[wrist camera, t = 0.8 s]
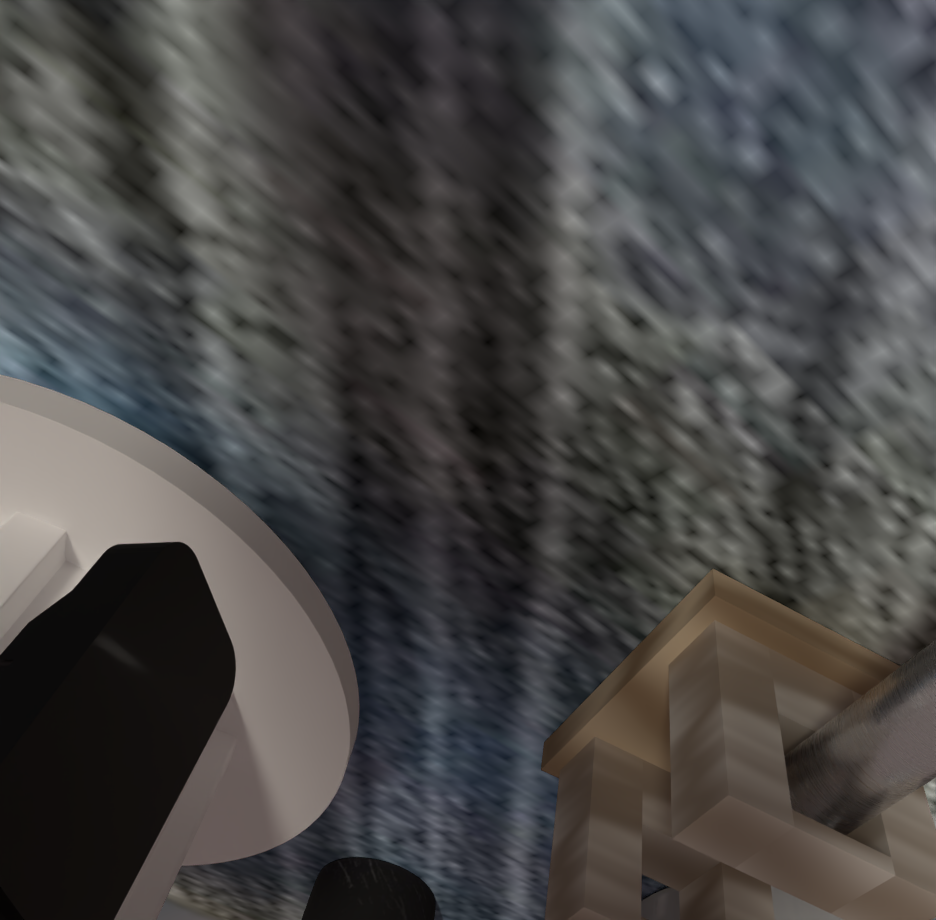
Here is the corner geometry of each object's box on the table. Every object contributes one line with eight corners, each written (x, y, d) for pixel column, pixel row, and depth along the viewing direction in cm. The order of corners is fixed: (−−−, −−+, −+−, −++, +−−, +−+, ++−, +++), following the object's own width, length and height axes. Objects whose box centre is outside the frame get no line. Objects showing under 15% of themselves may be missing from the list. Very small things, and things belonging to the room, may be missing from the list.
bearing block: (712, 568, 33) (729, 769, 26) (927, 680, 35) (1000, 901, 27) (544, 742, 41) (520, 936, 33) (725, 828, 42) (741, 1034, 35)
